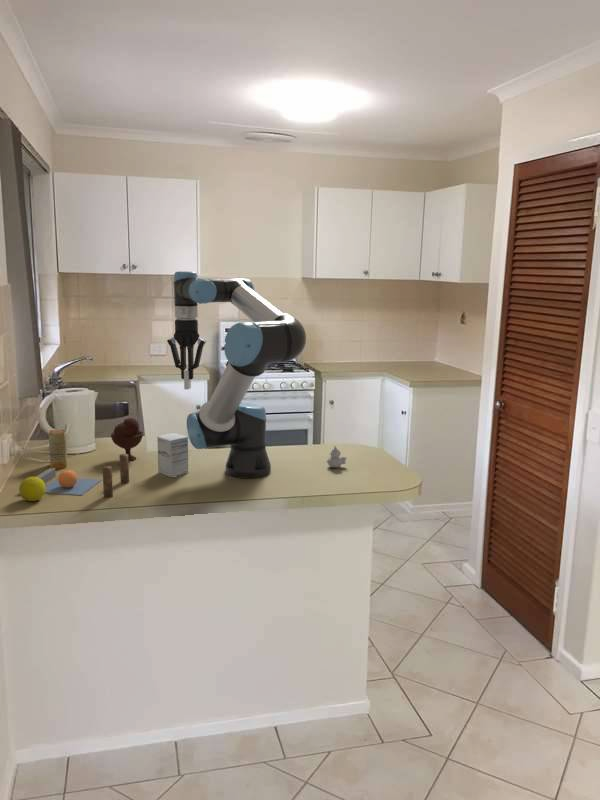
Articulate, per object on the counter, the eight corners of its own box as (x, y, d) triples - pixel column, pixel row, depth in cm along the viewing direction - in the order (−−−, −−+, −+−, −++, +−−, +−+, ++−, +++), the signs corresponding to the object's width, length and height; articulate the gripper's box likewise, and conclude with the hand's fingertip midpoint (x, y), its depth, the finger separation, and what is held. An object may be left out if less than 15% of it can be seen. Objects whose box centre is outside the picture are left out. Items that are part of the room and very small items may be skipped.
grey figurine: (325, 465, 227) (326, 443, 226) (344, 464, 228) (345, 442, 226) (328, 470, 222) (329, 447, 220) (347, 469, 223) (348, 447, 221)
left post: (114, 495, 195) (113, 466, 193) (110, 498, 193) (109, 469, 191) (106, 494, 195) (104, 465, 194) (102, 497, 193) (101, 468, 191)
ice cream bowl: (134, 453, 237) (132, 413, 234) (149, 460, 229) (148, 418, 226) (106, 458, 230) (104, 417, 226) (122, 466, 222) (120, 423, 218)
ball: (73, 488, 204) (83, 475, 202) (65, 493, 198) (75, 481, 197) (60, 476, 203) (70, 464, 202) (51, 482, 198) (61, 469, 197)
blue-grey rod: (55, 476, 211) (55, 468, 210) (29, 493, 195) (28, 485, 195) (50, 475, 211) (49, 468, 211) (23, 492, 196) (22, 484, 195)
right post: (130, 481, 207) (129, 454, 205) (127, 483, 205) (126, 456, 203) (122, 480, 208) (121, 453, 206) (119, 483, 205) (118, 456, 203)
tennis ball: (42, 504, 187) (40, 481, 185) (16, 504, 186) (14, 481, 185) (49, 495, 194) (47, 473, 192) (24, 496, 193) (23, 473, 192)
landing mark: (101, 480, 208) (101, 479, 208) (81, 495, 194) (81, 494, 194) (60, 477, 210) (60, 476, 210) (37, 492, 196) (37, 491, 196)
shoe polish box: (67, 463, 224) (65, 429, 221) (66, 467, 219) (64, 433, 217) (52, 464, 223) (49, 430, 220) (50, 468, 218) (48, 434, 215)
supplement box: (157, 472, 216) (156, 436, 213) (175, 468, 221) (174, 432, 219) (170, 478, 211) (169, 440, 208) (189, 473, 216) (188, 436, 214)
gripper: (163, 319, 213) (165, 390, 218) (202, 320, 211) (203, 391, 216) (170, 317, 220) (172, 385, 225) (208, 318, 219) (209, 387, 224)
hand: (187, 388), depth 221 cm, fingers closed
